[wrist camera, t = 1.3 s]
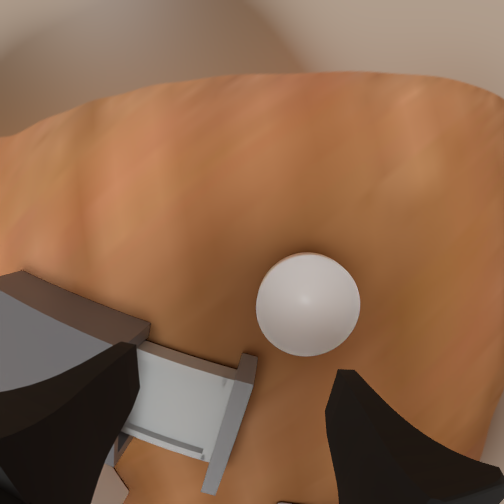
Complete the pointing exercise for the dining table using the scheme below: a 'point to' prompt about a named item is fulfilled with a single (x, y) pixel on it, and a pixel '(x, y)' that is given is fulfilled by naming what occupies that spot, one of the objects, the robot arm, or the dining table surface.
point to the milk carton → (109, 488)
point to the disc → (307, 304)
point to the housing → (56, 335)
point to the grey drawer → (190, 405)
